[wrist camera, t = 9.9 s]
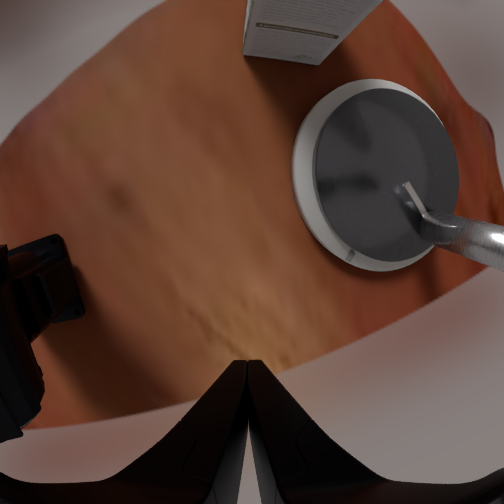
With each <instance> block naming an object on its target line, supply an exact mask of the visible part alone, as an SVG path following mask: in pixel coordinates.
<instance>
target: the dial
mask: <svg viewBox="0 0 504 504" xmlns="http://www.w3.org/2000/svg"><path fill="white" fill-rule="evenodd" d="M312 179H313V187H314V191H315V195H316V199H317V202H318V205H319V207H320V210H321V212H322V214H323V216H324V218H325V220H326V222H327V223H328V225H329V226H330V228H331V229H332V230H333V232H334V233H335V234H336V235H337V236H338V237H339V238H340V239H341V240H342V241H343V242H344V243H345V244H347V245H348V246H349V247H351V248H352V249H354V250H356V251H357V252H359V253H361V254H363V255H365V256H367V257H370V258H372V259H376V260H380V261H387V262H396V261H403V260H407V259H410V258H413V257H415V256H418V255H419V254H421V253H423V252H424V251H426V250H427V249H428V248H430V247H431V246H432V245H434V246H437V247H439V248H442V249H445V250H448V251H451V252H453V253H456V254H459V255H462V256H464V257H467V258H470V259H472V260H475V261H478V262H480V263H483V264H485V265H488V266H490V267H493V268H496V269H498V270H501V271H503V272H504V227H503V226H499V225H495V224H491V223H487V222H482V221H478V220H474V219H469V218H464V217H460V216H455V215H453V212H454V209H455V205H456V201H457V196H458V187H459V173H458V164H457V159H456V154H455V151H454V147H453V145H452V142H451V140H450V137H449V135H448V133H447V131H446V129H445V128H444V126H443V125H442V123H441V122H440V120H439V119H438V118H437V116H436V115H435V114H434V113H433V112H432V111H431V110H430V109H429V108H428V107H427V106H426V105H425V104H424V103H422V102H421V101H419V100H418V99H417V98H415V97H413V96H411V95H409V94H407V93H404V92H402V91H398V90H394V89H387V88H377V89H370V90H366V91H362V92H360V93H358V94H356V95H354V96H352V97H350V98H348V99H347V100H345V101H344V102H342V103H341V104H339V105H338V106H337V107H336V108H335V109H334V110H333V111H332V112H331V114H330V115H329V116H328V117H327V119H326V120H325V122H324V124H323V125H322V127H321V129H320V131H319V134H318V137H317V139H316V143H315V147H314V151H313V159H312Z"/></svg>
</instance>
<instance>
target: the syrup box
mask: <svg viewBox="0 0 504 504" xmlns="http://www.w3.org/2000/svg"><path fill="white" fill-rule="evenodd" d="M382 1H383V0H248V2H247V11H246V20H245V30H244V39H243V49H242V54H243V55H248V56H256V57H264V58H272V59H280V60H287V61H293V62H300V63H305V64H311V65H317V66H318V65H320V64H321V63H322V62H323V61H324V60H325V58H326V57H327V56H328V55H329V54H330V53H331V52H332V51H333V50H334V49H335V48H336V47H337V46H338V45H339V44H340V43H341V42H342V41H343V40H344V38H345V37H346V36H348V35H349V34H350V32H351V31H352V30H353V29H354V28H355V27H356V26H357V25H358V24H359V23H360V22H361V21H362V20H363V19H364V18H365V17H366V16H367V15H368V14H369V13H371V12H372V11H373V10H374V9H375V8H376V7H377V6H378V5H379V4H380V3H381V2H382Z"/></svg>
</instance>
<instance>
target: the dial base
mask: <svg viewBox="0 0 504 504" xmlns="http://www.w3.org/2000/svg"><path fill="white" fill-rule="evenodd" d="M377 88H387V89H394V90H398V91H402V92H404V93H407V94H409V95H411V96H413V97H415V98H417V99H418V100H419V101H421V102H422V103H424V104H425V105H426V106H427V107H428V108H429V109H430V110H431V111H432V112H433V113H434V114H435V115H436V113H435V112H434V111H433V110H432V109H431V108H430V106H429V105H428V104H427V103H426V102H425V101H423V100H422V99H421V98H420V97H419V96H417V95H416V94H415V93H413V92H412V91H410V90H408V89H407V88H405V87H403V86H401V85H398V84H396V83H393V82H389V81H385V80H379V79H363V80H357V81H353V82H349V83H347V84H344V85H342V86H340V87H338V88H336V89H335V90H333V91H332V92H330V93H329V94H327V95H326V96H325V97H323V98H322V99H321V100H320V101H319V102H317V103H316V104H315V105H314V106H313V107H312V109H311V110H310V111H309V112H308V114H307V115H306V116H305V118H304V120H303V122H302V123H301V125H300V127H299V130H298V132H297V135H296V137H295V141H294V145H293V149H292V155H291V183H292V190H293V194H294V198H295V202H296V205H297V207H298V210H299V212H300V215H301V217H302V219H303V220H304V222H305V224H306V226H307V228H308V229H309V230H310V232H311V233H312V234H313V236H314V237H315V238H316V239H317V240H318V241H319V242H320V243H321V244H322V245H323V246H324V247H325V248H326V249H327V250H329V251H330V252H331V253H333V254H334V255H336V256H337V257H339V258H340V259H342V260H344V261H346V262H347V263H349V264H351V265H354V266H356V267H358V268H361V269H366V270H370V271H392V270H396V269H400V268H403V267H406V266H408V265H411V264H412V263H414V262H416V261H417V260H419V259H421V258H422V257H423V256H424V255H426V254H427V253H428V252H429V251H430V250H431V249H432V248H433V247H434V245H432V246H431V247H430V248H428V249H427V250H426V251H424V252H423V253H421V254H419V255H418V256H415V257H413V258H410V259H407V260H403V261H396V262H387V261H380V260H376V259H372V258H370V257H367V256H365V255H363V254H361V253H359V252H357V251H356V250H354V249H352V248H351V247H349V246H348V245H347V244H345V243H344V242H343V241H342V240H341V239H340V238H339V237H338V236H337V235H336V234H335V233H334V232H333V230H332V229H331V228H330V226H329V225H328V223H327V222H326V220H325V218H324V216H323V214H322V212H321V210H320V207H319V205H318V202H317V199H316V195H315V191H314V187H313V179H312V159H313V151H314V147H315V143H316V139H317V137H318V134H319V131H320V129H321V127H322V125H323V124H324V122H325V120H326V119H327V117H328V116H329V115H330V114H331V112H332V111H333V110H334V109H335V108H336V107H337V106H338V105H339V104H341V103H342V102H344V101H345V100H347V99H348V98H350V97H352V96H354V95H356V94H358V93H360V92H362V91H366V90H370V89H377ZM436 116H437V115H436ZM437 118H438V116H437ZM438 119H439V118H438ZM439 120H440V119H439ZM440 122H441V121H440ZM441 123H442V122H441ZM442 125H443V124H442ZM444 128H445V127H444Z"/></svg>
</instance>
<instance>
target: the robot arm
mask: <svg viewBox="0 0 504 504" xmlns="http://www.w3.org/2000/svg"><path fill="white" fill-rule="evenodd" d="M54 238H55V239H56V241H57V243H56V244H55V243H54ZM77 309H79V310H80V313H79V312H78V311H77ZM84 314H85V308H84V306H83V303H82V300H81V298H80V295H79V288H78V286H77V283H76V280H75V277H74V274H73V271H72V268H71V265H70V261H69V260H68V259H67V256H66V253H65V249H64V246H63V242H62V239H61V237H60V235H59V234H53V235H50V236H47V237H44V238H41V239H38V240H36V241H33V242H30V243H27V244H25V245H22V246H19V247H17V248H14V249H11V250H9V251H8V248H7V244H5V245H0V443H2V442H5V441H7V440H11V439H15V438H19V437H22V436H23V432H22V430H21V429H22V428H23V427H25V426H26V425H28V424H29V422H30V421H32V420H33V419H34V418H35V417H36V416H37V415H38V413H39V412H40V411H41V405H40V402H41V400H42V397H43V395H44V392H45V388H44V381H43V378H42V377H43V373H42V370H41V368H40V366H38V363H37V361H36V358H35V356H34V353H33V350H32V347H31V343H32V342H33V341H34V340H35V339H36V338H37V337H38V336H39V335H40V334H41V333H42V332H43V331H44V330H45V329H46V328H47V327H48V326H49V325H50V324H52V323H57V322H62V321H67V320H72V319H77V318H81V317H82V316H83V315H84ZM248 419H249V432H250V439H251V445H252V451H253V457H254V463H255V468H256V474H257V480H258V486H259V491H260V497H261V502H262V504H504V468H502V469H499V470H497V471H495V472H493V473H491V474H489V475H487V476H486V477H484V478H481V479H479V480H476V481H472V482H468V483H461V484H430V483H413V482H401V481H393V480H389V479H386V478H384V477H381V476H380V475H378V474H376V473H375V472H373V471H372V470H370V469H369V468H368V467H366V466H365V465H363V464H362V463H361V462H360V461H358V460H357V459H356V458H354V457H353V456H351V455H350V454H349V453H348V452H347V451H345V450H344V449H343V448H342V447H340V446H339V445H338V444H337V443H336V442H334V441H333V440H332V439H331V438H330V437H329V436H328V435H327V434H326V433H325V432H324V431H323V430H322V429H321V428H320V427H319V426H318V425H317V424H316V423H315V422H314V420H312V419H311V417H310V416H309V415H308V414H307V413H306V412H305V410H304V409H303V408H302V407H301V406H300V405H299V404H298V402H297V401H296V400H295V399H294V398H293V397H292V396H291V394H290V393H289V392H288V391H287V390H286V389H285V387H284V386H283V385H282V384H281V383H280V382H279V380H278V379H277V378H276V377H275V376H274V375H273V373H272V372H271V371H270V370H269V369H268V367H267V366H266V365H265V364H264V363H263V361H262V360H248V362H247V361H246V360H234V361H232V363H231V364H230V365H229V366H228V367H227V368H226V370H225V371H224V372H223V373H222V374H221V375H220V376H219V378H218V379H217V380H216V381H215V382H214V383H213V384H212V386H211V387H210V388H209V389H208V390H207V391H206V392H205V393H204V395H203V396H202V397H201V398H200V399H199V400H198V401H197V402H196V404H195V405H194V406H193V407H192V408H191V409H190V410H189V411H188V412H187V414H186V415H185V416H184V417H183V418H182V419H181V421H179V422H178V423H177V424H176V425H175V426H174V427H173V428H172V429H171V430H170V431H169V432H168V433H167V434H166V435H165V436H164V437H163V438H162V439H161V440H160V441H159V442H157V443H156V444H155V445H154V446H153V447H152V448H150V449H149V450H148V451H147V452H145V453H144V454H143V455H141V456H140V457H139V458H138V459H136V460H135V461H133V462H132V463H131V464H130V465H128V466H127V467H125V468H124V469H123V470H121V471H120V472H118V473H117V474H115V475H113V476H112V477H110V478H107V479H104V480H101V481H94V482H79V483H30V482H24V481H20V480H16V479H13V478H11V477H9V476H7V475H5V474H3V473H1V472H0V504H237V500H238V493H239V486H240V480H241V474H242V467H243V461H244V454H245V447H246V440H247V433H248Z"/></svg>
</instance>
